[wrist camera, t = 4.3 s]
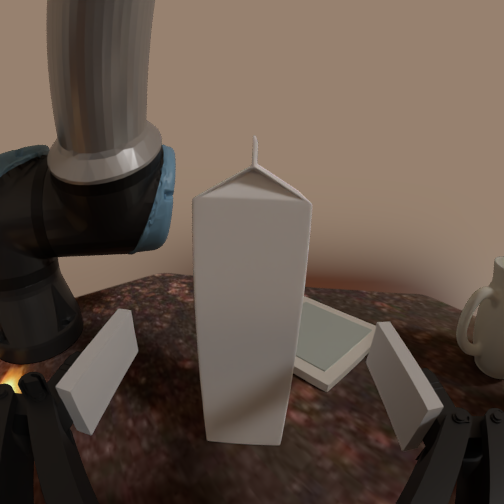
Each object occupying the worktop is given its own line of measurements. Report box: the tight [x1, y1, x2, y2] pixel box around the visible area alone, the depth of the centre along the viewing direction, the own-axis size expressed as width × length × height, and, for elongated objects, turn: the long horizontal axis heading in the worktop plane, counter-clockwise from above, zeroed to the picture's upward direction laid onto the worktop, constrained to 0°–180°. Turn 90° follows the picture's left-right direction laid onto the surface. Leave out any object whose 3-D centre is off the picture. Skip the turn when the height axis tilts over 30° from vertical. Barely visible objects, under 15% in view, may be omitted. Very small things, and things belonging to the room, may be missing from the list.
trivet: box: [293, 296, 376, 393], centre depth 35 cm, size 14×14×1 cm
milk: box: [192, 136, 312, 445], centre depth 19 cm, size 6×6×22 cm
